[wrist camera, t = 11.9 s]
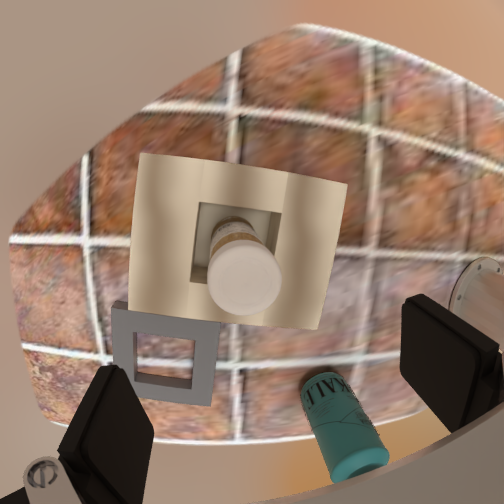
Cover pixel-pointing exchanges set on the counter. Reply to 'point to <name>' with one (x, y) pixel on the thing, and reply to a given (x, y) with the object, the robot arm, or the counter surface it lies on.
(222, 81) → the counter surface
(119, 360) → the charcoal collar
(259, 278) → the sprinkles bottle
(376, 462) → the beverage bottle
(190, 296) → the birch dock block
